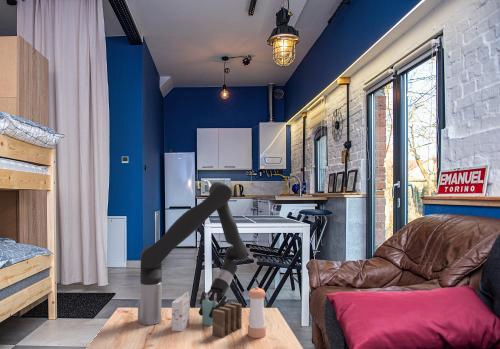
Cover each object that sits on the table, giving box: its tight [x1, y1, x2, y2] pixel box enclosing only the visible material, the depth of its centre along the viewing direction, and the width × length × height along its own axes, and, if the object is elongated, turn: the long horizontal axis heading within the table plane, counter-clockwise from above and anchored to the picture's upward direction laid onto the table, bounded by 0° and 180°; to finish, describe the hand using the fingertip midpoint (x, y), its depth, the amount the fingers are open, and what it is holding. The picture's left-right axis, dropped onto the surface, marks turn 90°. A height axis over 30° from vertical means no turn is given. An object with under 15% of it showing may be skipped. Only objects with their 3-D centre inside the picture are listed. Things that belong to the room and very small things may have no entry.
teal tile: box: [201, 300, 214, 327], centre depth 167 cm, size 2×5×10 cm, turn 57°
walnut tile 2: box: [229, 301, 243, 330], centre depth 164 cm, size 2×5×10 cm, turn 57°
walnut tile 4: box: [219, 307, 232, 336], centre depth 157 cm, size 2×5×10 cm, turn 57°
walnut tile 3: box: [224, 303, 237, 333], centre depth 160 cm, size 2×5×10 cm, turn 57°
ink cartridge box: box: [171, 290, 191, 332], centre depth 163 cm, size 9×5×15 cm, turn 168°
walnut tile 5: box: [211, 309, 226, 339], centre depth 154 cm, size 2×5×10 cm, turn 57°
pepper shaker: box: [247, 286, 267, 339], centre depth 155 cm, size 7×7×19 cm
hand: (205, 315), depth 165 cm, fingers closed on teal tile, 5 cm apart
